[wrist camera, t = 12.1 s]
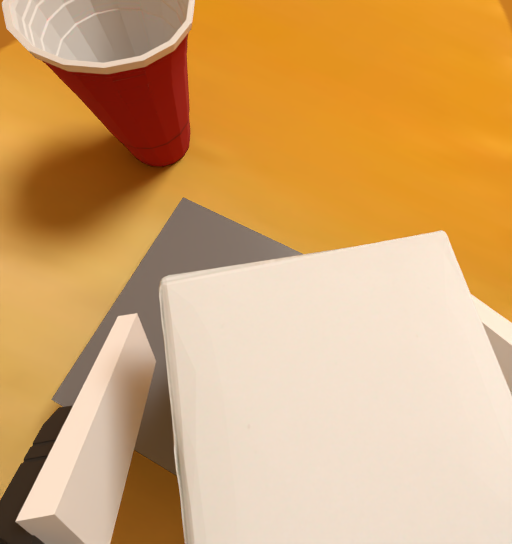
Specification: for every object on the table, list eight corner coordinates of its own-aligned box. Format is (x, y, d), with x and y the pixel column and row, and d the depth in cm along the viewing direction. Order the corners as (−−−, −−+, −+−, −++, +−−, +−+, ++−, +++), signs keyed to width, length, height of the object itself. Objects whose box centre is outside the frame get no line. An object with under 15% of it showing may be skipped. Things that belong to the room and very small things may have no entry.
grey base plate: (87, 390, 22) (39, 402, 17) (193, 220, 26) (179, 190, 21) (384, 567, 19) (429, 641, 14) (452, 345, 23) (506, 343, 18)
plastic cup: (239, 155, 27) (227, 13, 16) (138, 210, 26) (43, 95, 14) (185, 81, 30) (141, -89, 18) (89, 127, 28) (-25, -29, 17)
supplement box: (356, 425, 17) (613, 610, 5) (234, 450, 17) (181, 720, 4) (326, 305, 19) (456, 222, 7) (217, 325, 19) (146, 274, 6)
